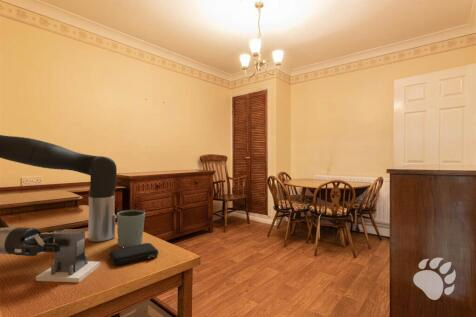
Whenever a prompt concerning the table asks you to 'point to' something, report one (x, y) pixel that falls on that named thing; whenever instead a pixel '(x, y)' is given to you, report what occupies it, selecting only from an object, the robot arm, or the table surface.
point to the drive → (70, 250)
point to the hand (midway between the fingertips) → (70, 242)
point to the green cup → (130, 227)
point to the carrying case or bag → (133, 254)
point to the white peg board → (68, 273)
